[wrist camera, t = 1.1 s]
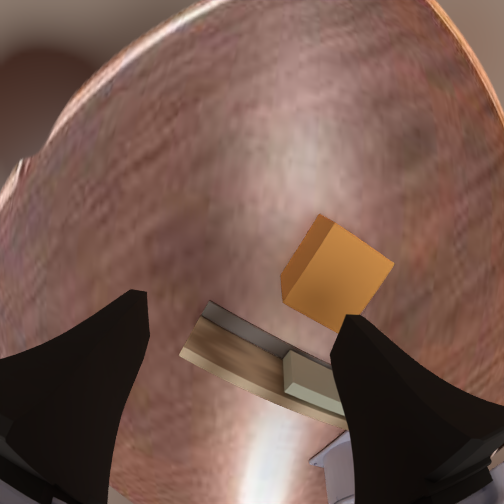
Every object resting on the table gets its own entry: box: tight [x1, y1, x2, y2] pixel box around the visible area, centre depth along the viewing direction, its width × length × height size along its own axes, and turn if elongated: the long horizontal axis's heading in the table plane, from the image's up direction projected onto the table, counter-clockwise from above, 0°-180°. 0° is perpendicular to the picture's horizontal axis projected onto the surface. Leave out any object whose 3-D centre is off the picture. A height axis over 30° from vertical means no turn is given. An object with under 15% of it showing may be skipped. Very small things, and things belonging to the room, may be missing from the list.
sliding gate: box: [283, 350, 345, 416], centre depth 22 cm, size 8×4×5 cm, turn 59°
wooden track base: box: [179, 301, 349, 431], centre depth 23 cm, size 18×3×6 cm, turn 59°
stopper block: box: [280, 214, 394, 333], centre depth 20 cm, size 5×6×6 cm
